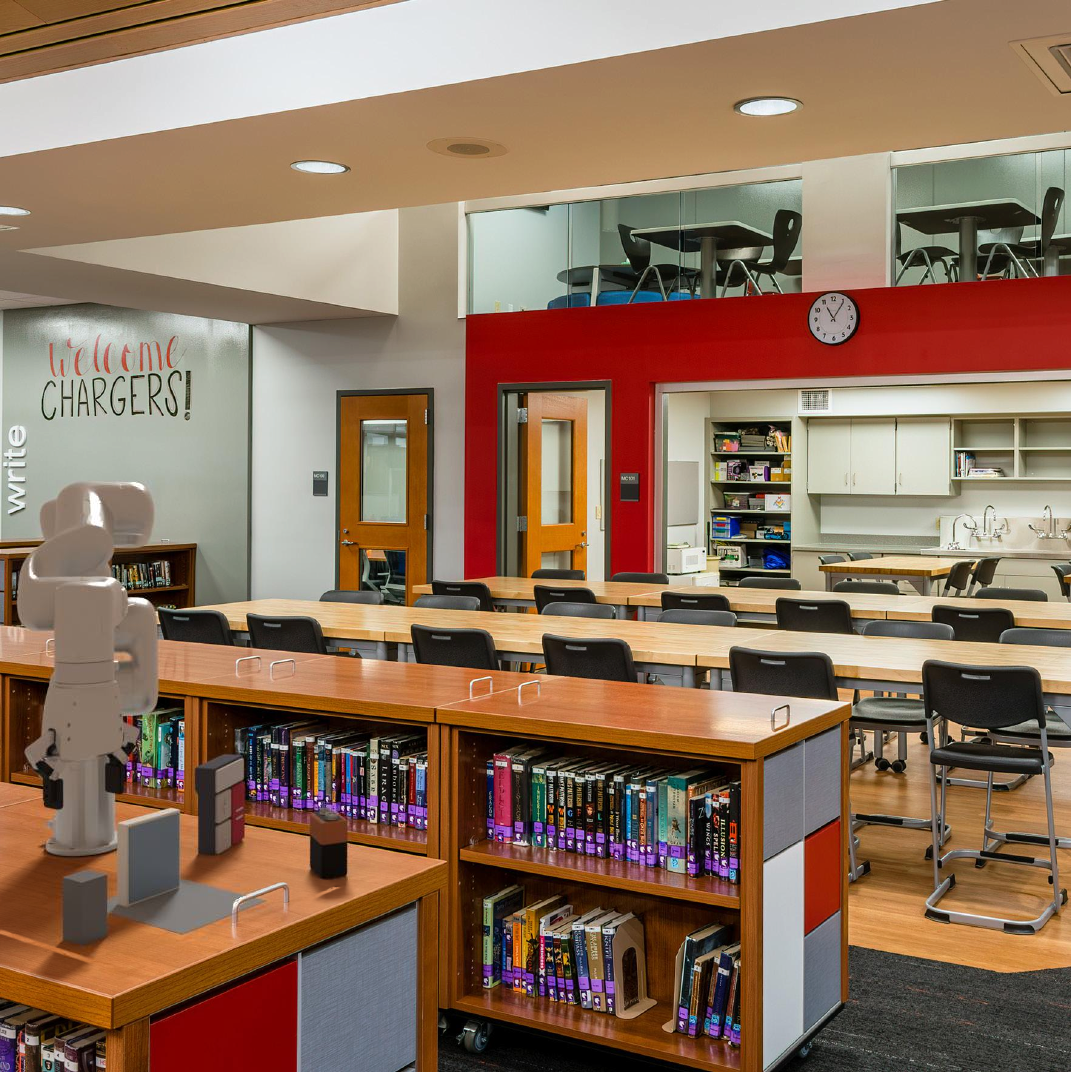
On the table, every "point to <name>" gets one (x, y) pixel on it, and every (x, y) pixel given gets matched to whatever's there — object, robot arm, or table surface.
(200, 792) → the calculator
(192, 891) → the mat
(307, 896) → the table surface
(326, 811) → the battery
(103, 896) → the block
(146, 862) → the tile
